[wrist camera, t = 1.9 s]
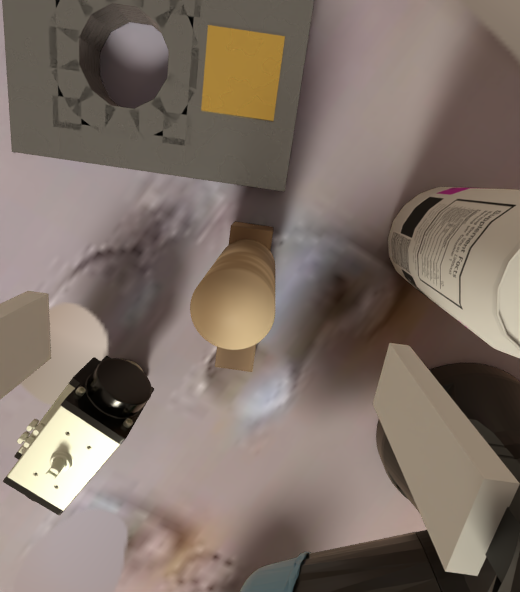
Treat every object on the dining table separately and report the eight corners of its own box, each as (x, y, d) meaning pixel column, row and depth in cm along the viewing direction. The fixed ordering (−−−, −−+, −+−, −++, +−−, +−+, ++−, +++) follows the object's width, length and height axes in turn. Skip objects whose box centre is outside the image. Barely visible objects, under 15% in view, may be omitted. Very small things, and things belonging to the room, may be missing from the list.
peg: (279, 243, 28) (281, 276, 18) (270, 297, 29) (268, 355, 20) (221, 235, 28) (193, 263, 18) (215, 290, 29) (187, 343, 20)
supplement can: (466, 166, 28) (659, 152, 14) (501, 258, 30) (700, 327, 16) (369, 218, 30) (455, 253, 16) (408, 302, 32) (516, 401, 18)
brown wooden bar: (273, 227, 30) (273, 231, 28) (254, 355, 34) (252, 372, 31) (235, 221, 30) (231, 225, 28) (220, 351, 34) (214, 366, 31)
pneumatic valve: (179, 351, 34) (130, 436, 23) (112, 430, 37) (40, 541, 26) (129, 315, 33) (54, 385, 22) (66, 399, 36) (-31, 500, 25)
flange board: (315, -19, 25) (321, -47, 22) (283, 190, 30) (284, 191, 26) (27, -62, 25) (-7, -95, 22) (37, 154, 29) (10, 151, 26)
